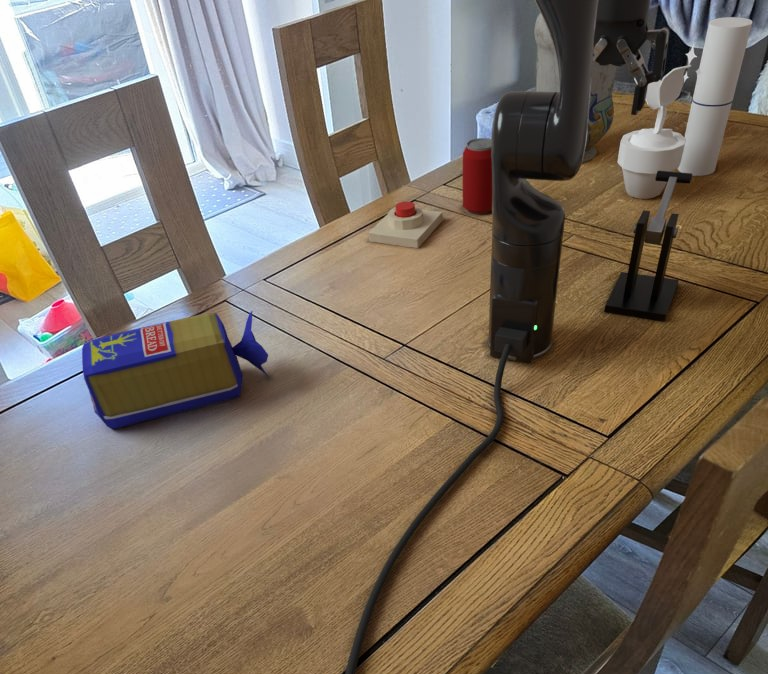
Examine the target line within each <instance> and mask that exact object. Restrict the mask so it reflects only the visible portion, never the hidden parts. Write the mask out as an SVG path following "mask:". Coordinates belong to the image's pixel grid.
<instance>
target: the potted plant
mask: <svg viewBox="0 0 768 674" xmlns="http://www.w3.org/2000/svg"><path fill="white" fill-rule="evenodd" d="M685 55H686V57H687V62H688V63H687V65H684V66H678V67H675V68H672V69H671V71H669V72H668V73H667V74H665V75H663V76H662V78H661V79H660V80H659V81H658V82H652V83H650V84H648V88H647V94H646V99H645V103H646V104H647V106H648V107H650V109H652V110H653V111H654V110H657V114H656V120H655V123H654V127H652V128H651V127H650V128H641V129H637V130H633V131H631V132H627V133H626V134H624V135H623V136H622V138H621V139H620V143H619V144H620V145H619V148H618V149H619V150H618V155H617V164H618V165H619V166H620V167H621V168H622V169H621V170H622V175H623V176H622V177H623V182H624V189H625V192H626V194H627V195H628V196H630V197H631V198H634V199H639V200H648V199H649V200H650V199H653V198H655V197H658V196H660V195H661V194H662V192H663V191H664V188H665V187H666V185H667V183H668V182H662V181H655V179H656V174H657V171H670V172H674V170H676V169H678V167H679V166H680V163H681V160H682V155H683V151H684V146H685V141H686V138H685V136H683V135H682V134H681V132H677V131H673V128H663V127H664V124H665V121H666V117H667V113H668V111H667V110H668V109H667V106H669V105H672V104H673V103H674V102H675V101H676V100H677V99H678V98H679V97H680V95H681V93H682V89H683V87H684V83H685V82H686V80H687V79H689V78H690V77H689V76H688V71H686V69H689V68H691V67H692V64H691V63H692V61H693V59H694V58H698V55H696V54H695V43H692V47H691V49H690V50H689V52H688V53H685ZM685 71H686V72H685ZM695 72H696V78H697V77H698V75H699V73H701V72H702V71H701V70H700V66H699V67H698V68H697V69H696V70H695ZM633 80H634V82H635V84H636V85H637V84H638V83H637V81H636V79H635V77H633Z"/></svg>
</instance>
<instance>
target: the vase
mask: <svg viewBox="0 0 768 674" xmlns="http://www.w3.org/2000/svg"><path fill="white" fill-rule="evenodd" d="M536 17H537V18H536V20H535V25H534V31H533V32H534V33H533V34H534V40H535V43H536V48H537V51H536V52H537V54H536V55H537V56H536V76H535V77H536V78H535V91H541V92H560V80H559V70H558V63H557V58H556V53H555V49H554V46H553V43H552V40H551V37H550V34H549V31H548V28H547V26H546V24H545V21H544V19H543V17H542V15H541V13H540V12H539V14H538V15H537V16H536ZM617 68H618V66H614V65H612V64H609V65H605V66H602V65H600V64H599V63H597V62H596V61H595V62H594V63H593V66H592V81H591V95H590V110H589V122H588V133H587V141H586V147H585V152H584V157H583V160H582V164H583V163H586V162H588V161H590V160H592V159H594V158H595V157H596V155H597V149H596V147H595V145H596V144H598V143H599V142H600V141H601V140H602V139H603V138H604V137H605V135H607V133H608V132H609V130H610V128H611V126H612V124H613V122H614V115H615V107H614V101H613V92H614V84H615V80H616V79H615V78H616V75H617V74H616V73H617Z"/></svg>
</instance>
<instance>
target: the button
mask: <svg viewBox="0 0 768 674" xmlns="http://www.w3.org/2000/svg"><path fill="white" fill-rule="evenodd" d="M415 206H416V204H415V203H414V202H412V201H400V202H398V203H397V204H395V206H394V207H396V216H397V217H401V218H406V217H411V216H414V215H415Z"/></svg>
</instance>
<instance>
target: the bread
mask: <svg viewBox="0 0 768 674" xmlns="http://www.w3.org/2000/svg"><path fill="white" fill-rule="evenodd" d="M252 325H253V310H251V311H250V312H249V313H248V317H247V318H246V322H245V326H244V329H243V335H242V337H241V340H240V341H239V342H237V343H235V345H234V346H233V345H232V343H231V341H230V339H229V336H228V333H227V331H226V328H225V324H224V323H223V321H222V320H221V318H220V315H218V313H216V312H213V313H212V312H205V313H201V314H196V315H192V316H187V317H183V318H179V319H174V320H170V321H165V322H160V323H156V324H151V325H147V326H142V327H138V328H134V329H130V330H127V331H122V332H117V333H114V334H110V335H106V336H101V337H98V338H94V339H91V340H88V341H87V342H85V343H83V345H82V347H81V358H82V359H81V360H82V361H81V363H82V373H83V379H84V382H85V384H86V387H87V389H88V392H89V395H90V396H89V397H90V400H91V403H92V407H93V411H94V413H95V414H96V416H98V417H99V418H100V420H101V421H102V422H103V423H104V424H105V426H106V427H107V428H109V429H110V430H115V429H119V428H124V427H127V426H131V425H135V424H139V423H144V422H147V421H151V420H155V419H158V418H159V419H160V418H163V417H167V416H171V415H175V414H178V413H183V412H186V411H191V410H195V409H198V408H203V407H206V406H211V405H215V404H218V403H222V402H227V401H230V400H234V399H238V398H240V396H241V393H242V388H243V380H244V374H243V372H242V369H241V365H240V362H239V359H238V358H241V359H243V360H245V361H247V362H248V363H250V364H251V365H252V366H253V367H255V368H256V369H258V370H259V371H260V372H261V373H263V374H264V375H265V376H266V377H267V378H270V377H269V374H268V373H267V372H266V371H265V369H264V368H263V366H262V365H263V364H265V363H267V362H268V359H269V353H268V352H267V351H266V349H265V348H264V347H263V346H262V345H261V344H260V343H259V342H258V341H257V339H256V338H255V335H254V333H253V331H252Z"/></svg>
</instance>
